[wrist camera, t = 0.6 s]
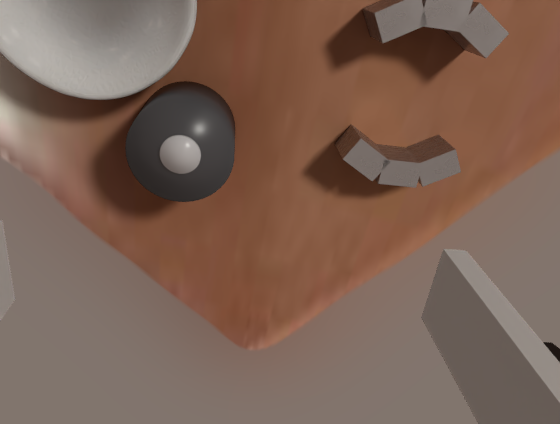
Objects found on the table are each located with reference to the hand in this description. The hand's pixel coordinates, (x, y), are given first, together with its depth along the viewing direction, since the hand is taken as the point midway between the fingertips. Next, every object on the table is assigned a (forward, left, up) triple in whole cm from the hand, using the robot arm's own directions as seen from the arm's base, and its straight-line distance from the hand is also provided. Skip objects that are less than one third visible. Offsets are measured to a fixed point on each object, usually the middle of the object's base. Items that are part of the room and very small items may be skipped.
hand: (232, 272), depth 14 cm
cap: (+2, -3, -20) cm, 20 cm away
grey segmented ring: (-2, +11, -20) cm, 23 cm away
